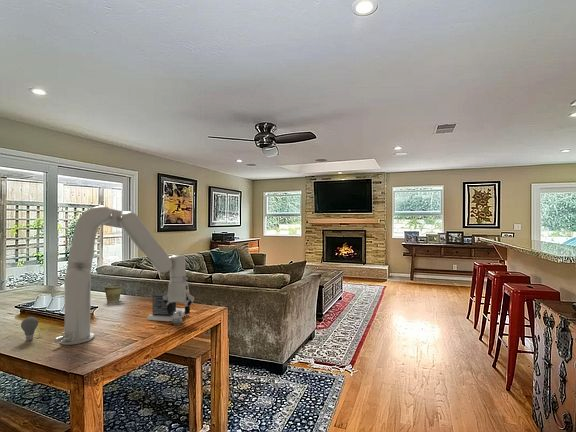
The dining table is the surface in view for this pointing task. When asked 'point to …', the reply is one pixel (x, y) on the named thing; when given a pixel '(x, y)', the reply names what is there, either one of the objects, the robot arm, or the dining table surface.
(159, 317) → the scale
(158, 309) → the small box
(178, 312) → the round metal knob
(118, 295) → the olive flower pot
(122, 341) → the dining table surface
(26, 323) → the light bulb
